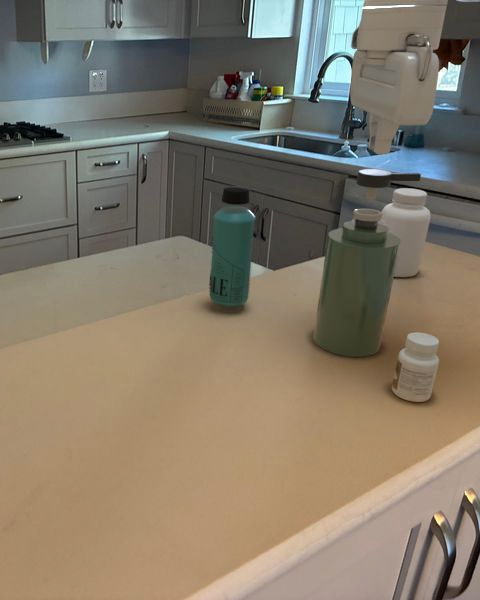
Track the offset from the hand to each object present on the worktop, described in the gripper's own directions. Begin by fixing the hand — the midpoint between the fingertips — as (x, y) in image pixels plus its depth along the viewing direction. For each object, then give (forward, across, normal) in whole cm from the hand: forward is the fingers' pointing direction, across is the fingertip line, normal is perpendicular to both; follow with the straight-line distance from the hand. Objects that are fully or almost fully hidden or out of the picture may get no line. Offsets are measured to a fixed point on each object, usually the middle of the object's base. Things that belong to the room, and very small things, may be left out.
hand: (378, 152), depth 78 cm
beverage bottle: (+28, +11, +16) cm, 34 cm away
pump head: (+6, 0, -2) cm, 6 cm away
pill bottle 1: (+28, +30, -16) cm, 44 cm away
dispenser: (+27, 0, 0) cm, 27 cm away
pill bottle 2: (+28, -13, -4) cm, 31 cm away
